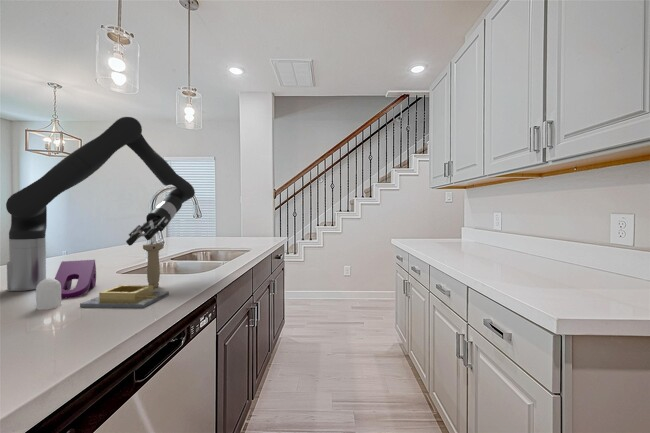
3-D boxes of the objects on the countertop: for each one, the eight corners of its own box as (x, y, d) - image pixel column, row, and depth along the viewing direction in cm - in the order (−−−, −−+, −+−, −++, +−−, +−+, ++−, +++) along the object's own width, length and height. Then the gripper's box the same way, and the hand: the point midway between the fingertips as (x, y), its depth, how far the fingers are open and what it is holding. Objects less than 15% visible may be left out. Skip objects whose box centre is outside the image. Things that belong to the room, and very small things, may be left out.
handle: (164, 287, 112) (164, 245, 112) (143, 289, 109) (143, 246, 109) (163, 284, 117) (162, 243, 116) (142, 286, 113) (142, 244, 113)
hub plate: (80, 307, 89) (79, 294, 89) (114, 293, 103) (114, 283, 103) (143, 307, 89) (143, 295, 89) (169, 294, 103) (168, 283, 103)
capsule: (49, 309, 87) (49, 280, 87) (30, 309, 87) (30, 280, 87) (66, 304, 92) (66, 276, 92) (48, 303, 93) (48, 276, 92)
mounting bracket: (88, 312, 103) (97, 278, 118) (86, 291, 100) (95, 259, 114) (51, 316, 99) (64, 281, 113) (47, 295, 96) (61, 261, 110)
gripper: (142, 211, 125) (115, 237, 112) (170, 202, 121) (145, 227, 107) (154, 226, 129) (129, 253, 115) (182, 218, 124) (159, 244, 111)
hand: (137, 241), depth 111 cm, fingers open, 8 cm apart
